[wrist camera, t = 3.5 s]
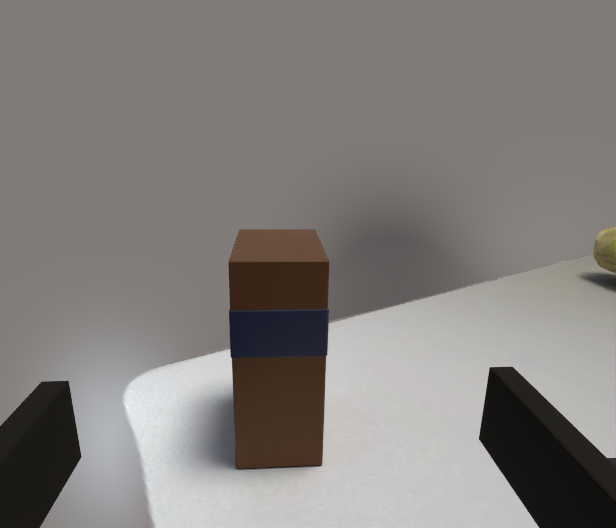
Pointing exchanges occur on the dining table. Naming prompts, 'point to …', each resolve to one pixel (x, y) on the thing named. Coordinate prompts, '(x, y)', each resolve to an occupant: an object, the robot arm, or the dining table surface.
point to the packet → (278, 346)
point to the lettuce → (606, 249)
